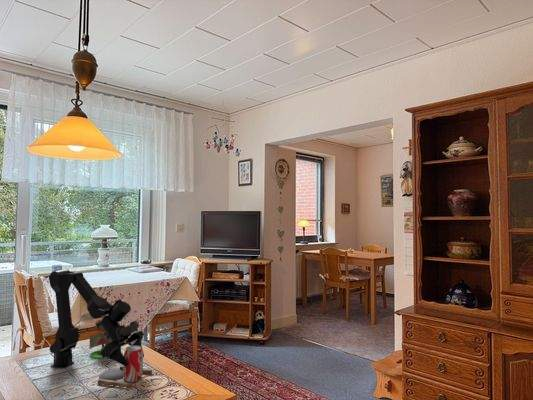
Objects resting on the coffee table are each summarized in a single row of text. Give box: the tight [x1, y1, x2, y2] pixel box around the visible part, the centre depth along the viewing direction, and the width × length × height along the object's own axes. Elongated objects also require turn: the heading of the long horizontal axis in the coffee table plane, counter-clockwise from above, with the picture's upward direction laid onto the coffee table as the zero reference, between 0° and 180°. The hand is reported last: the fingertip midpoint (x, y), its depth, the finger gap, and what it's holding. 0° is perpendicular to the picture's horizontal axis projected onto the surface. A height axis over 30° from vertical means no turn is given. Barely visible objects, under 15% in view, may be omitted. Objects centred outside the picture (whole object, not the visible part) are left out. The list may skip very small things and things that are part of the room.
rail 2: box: [119, 365, 153, 375], centre depth 153 cm, size 14×1×2 cm, turn 76°
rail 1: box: [97, 378, 134, 389], centre depth 140 cm, size 14×1×2 cm, turn 76°
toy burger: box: [88, 318, 112, 360], centre depth 172 cm, size 12×13×15 cm
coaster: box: [98, 368, 123, 381], centre depth 149 cm, size 10×10×1 cm
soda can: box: [122, 345, 144, 383], centre depth 146 cm, size 7×7×12 cm
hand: (135, 361), depth 145 cm, fingers open, 9 cm apart
